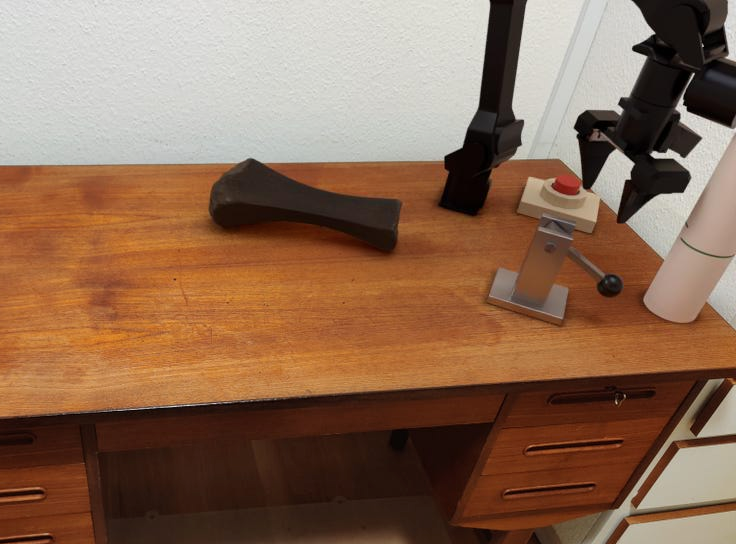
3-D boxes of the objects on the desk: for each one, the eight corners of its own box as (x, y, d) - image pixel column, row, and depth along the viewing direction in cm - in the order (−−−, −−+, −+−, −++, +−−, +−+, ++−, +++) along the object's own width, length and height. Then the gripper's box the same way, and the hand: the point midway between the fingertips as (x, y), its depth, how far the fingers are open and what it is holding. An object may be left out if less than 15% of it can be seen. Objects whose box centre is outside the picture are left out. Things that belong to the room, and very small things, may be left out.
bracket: (565, 294, 103) (599, 222, 95) (559, 325, 97) (595, 252, 89) (495, 273, 105) (523, 201, 98) (486, 302, 100) (514, 228, 92)
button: (551, 192, 118) (554, 182, 117) (553, 182, 121) (557, 172, 120) (576, 199, 117) (580, 189, 116) (578, 188, 120) (582, 179, 119)
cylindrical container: (693, 299, 105) (793, 136, 88) (699, 328, 100) (807, 160, 83) (641, 286, 106) (731, 123, 90) (645, 314, 101) (740, 146, 84)
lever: (610, 293, 98) (629, 279, 95) (608, 306, 95) (628, 292, 93) (536, 233, 97) (555, 217, 95) (533, 244, 95) (552, 228, 92)
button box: (516, 212, 119) (524, 191, 117) (524, 187, 127) (532, 166, 124) (591, 233, 117) (601, 212, 114) (595, 206, 124) (605, 185, 121)
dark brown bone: (203, 232, 110) (381, 281, 110) (205, 195, 100) (401, 249, 101) (221, 173, 114) (393, 220, 114) (226, 132, 104) (414, 184, 104)
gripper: (757, 131, 87) (691, 241, 98) (666, 70, 100) (617, 173, 111) (676, 130, 85) (618, 243, 95) (595, 68, 98) (552, 173, 109)
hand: (602, 205), depth 103 cm, fingers open, 9 cm apart
